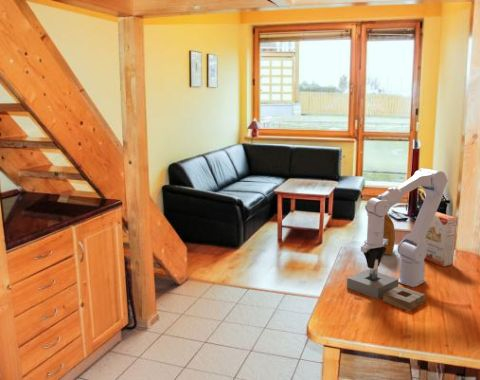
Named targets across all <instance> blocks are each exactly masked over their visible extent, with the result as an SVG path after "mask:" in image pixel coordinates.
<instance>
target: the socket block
mask: <svg viewBox="0 0 480 380" xmlns="http://www.w3.org/2000/svg"><path fill="white" fill-rule="evenodd" d="M425 299H426V294H425V293H421V292H419V291H416V290H413V289H410V288H407V287H403V286H401V285H398V287H396V288H394V289H392V290H390V291H388V292H385V293H383V298H382V302H383V303H385V304H389V305H392V306H395V307H398V308H399V309H402V310H406V311H409V312H410V311H412V310H414V309H416V308H417V307H419V306H420V305H422V304H424V303H425Z"/></svg>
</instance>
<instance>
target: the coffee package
mask: <svg viewBox="0 0 480 380" xmlns="http://www.w3.org/2000/svg"><path fill="white" fill-rule="evenodd" d="M383 238H384V239H388V244H387V245H384V246H383V247H386V251H385V252H384V254H383V255H388V256H389V255H393V252H394V249H395V241H396V240H395V239H396V234H395V224H394V222H393V220H392V218H391V217H390V215H389V214H388V213H387V214H386V215H385V217H384V234H383Z"/></svg>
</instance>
